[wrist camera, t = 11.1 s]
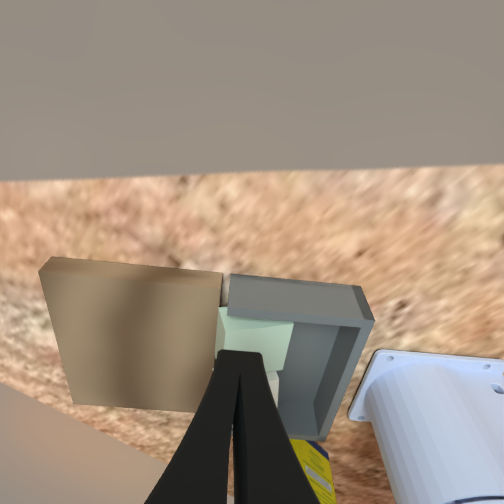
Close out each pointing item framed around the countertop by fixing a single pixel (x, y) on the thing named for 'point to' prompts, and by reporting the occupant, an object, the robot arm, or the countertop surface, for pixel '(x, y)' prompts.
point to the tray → (309, 344)
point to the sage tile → (254, 337)
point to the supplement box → (316, 469)
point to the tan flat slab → (133, 332)
